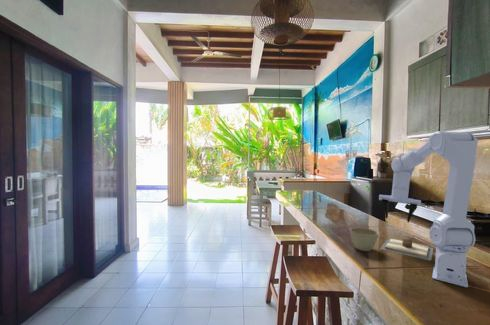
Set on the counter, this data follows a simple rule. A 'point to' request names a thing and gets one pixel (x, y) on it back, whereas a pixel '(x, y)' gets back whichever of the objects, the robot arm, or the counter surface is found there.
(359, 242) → the beige bowl
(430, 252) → the mat
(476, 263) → the counter surface
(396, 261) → the counter surface
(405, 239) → the lid
